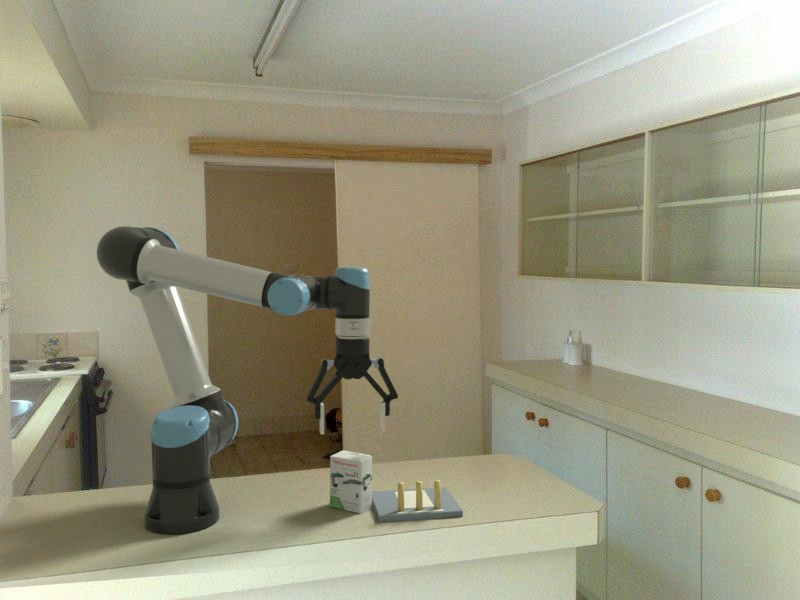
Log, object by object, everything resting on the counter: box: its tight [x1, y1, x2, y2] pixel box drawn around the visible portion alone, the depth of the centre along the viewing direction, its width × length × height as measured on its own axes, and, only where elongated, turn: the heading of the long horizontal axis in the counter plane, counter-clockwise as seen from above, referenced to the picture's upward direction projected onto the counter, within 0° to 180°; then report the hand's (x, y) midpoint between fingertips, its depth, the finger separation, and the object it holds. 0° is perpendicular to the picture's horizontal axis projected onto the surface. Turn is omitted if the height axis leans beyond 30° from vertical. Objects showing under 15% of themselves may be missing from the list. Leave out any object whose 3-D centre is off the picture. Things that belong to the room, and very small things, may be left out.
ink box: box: [329, 450, 373, 514], centre depth 159 cm, size 9×5×12 cm, turn 60°
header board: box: [372, 479, 464, 523], centre depth 160 cm, size 18×16×7 cm
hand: (352, 431), depth 160 cm, fingers open, 13 cm apart
